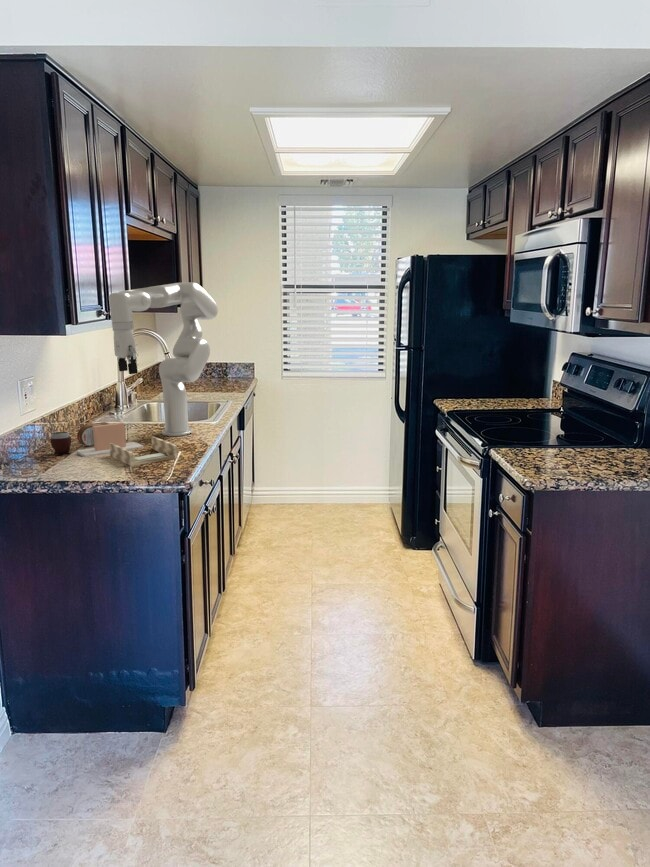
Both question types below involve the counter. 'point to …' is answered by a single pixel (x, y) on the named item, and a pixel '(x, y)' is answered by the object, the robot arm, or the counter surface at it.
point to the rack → (157, 445)
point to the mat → (93, 452)
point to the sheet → (109, 436)
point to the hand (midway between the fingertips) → (128, 372)
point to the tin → (87, 434)
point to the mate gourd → (60, 441)
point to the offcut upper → (148, 457)
